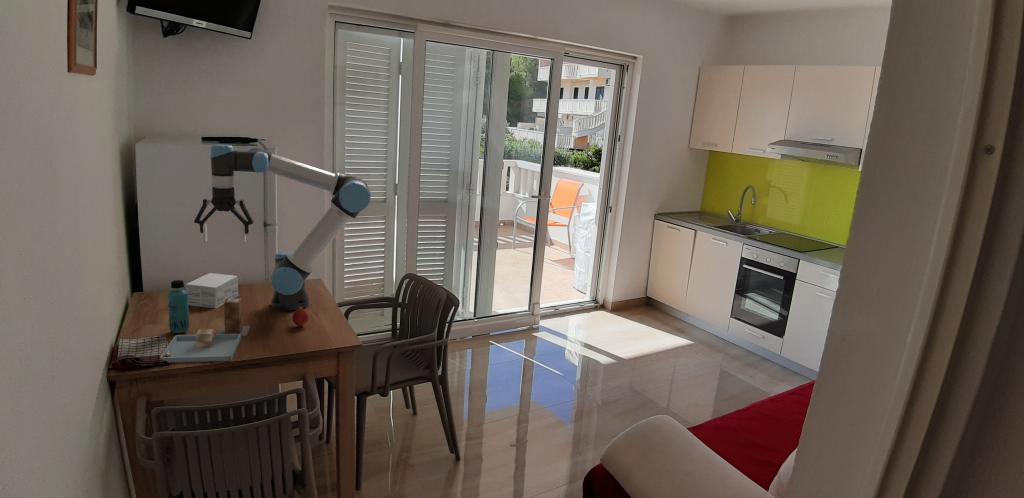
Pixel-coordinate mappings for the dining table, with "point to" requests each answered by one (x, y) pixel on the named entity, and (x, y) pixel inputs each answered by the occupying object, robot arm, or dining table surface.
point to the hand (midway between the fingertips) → (225, 241)
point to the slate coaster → (243, 333)
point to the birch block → (205, 338)
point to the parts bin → (202, 349)
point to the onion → (300, 317)
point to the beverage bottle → (178, 308)
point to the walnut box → (233, 315)
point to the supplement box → (212, 290)
